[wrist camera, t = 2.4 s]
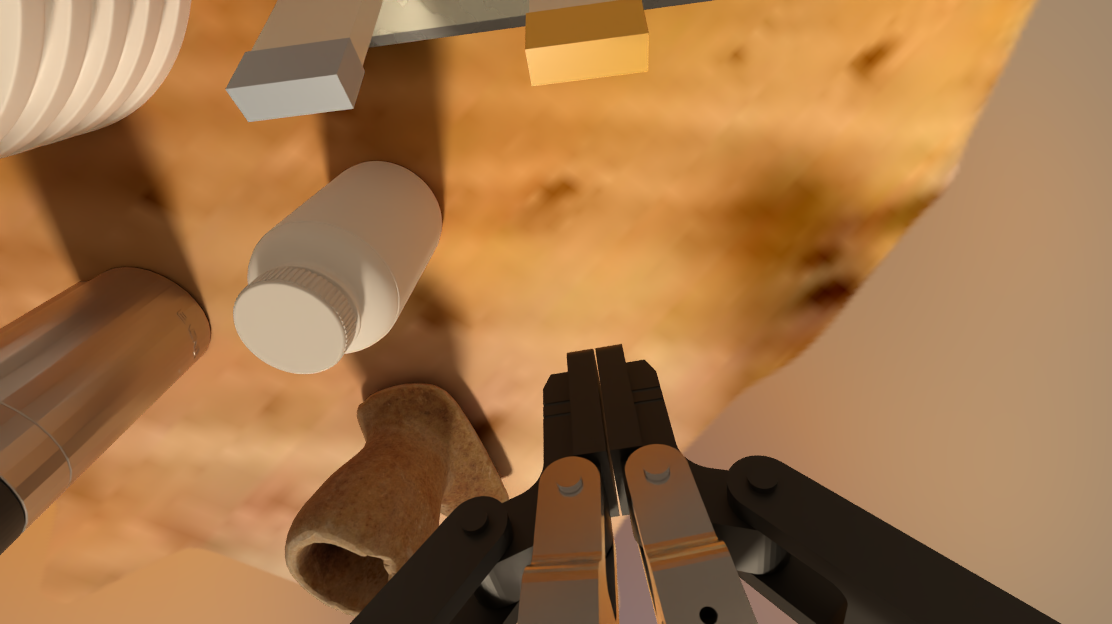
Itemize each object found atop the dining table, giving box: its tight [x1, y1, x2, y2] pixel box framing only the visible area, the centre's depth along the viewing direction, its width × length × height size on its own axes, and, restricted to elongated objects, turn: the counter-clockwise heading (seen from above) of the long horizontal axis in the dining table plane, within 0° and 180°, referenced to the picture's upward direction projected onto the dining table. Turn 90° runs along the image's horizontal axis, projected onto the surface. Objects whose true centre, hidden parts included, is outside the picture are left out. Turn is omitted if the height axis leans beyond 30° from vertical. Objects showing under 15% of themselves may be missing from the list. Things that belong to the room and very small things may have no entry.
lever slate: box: [226, 0, 383, 122], centre depth 23 cm, size 1×4×12 cm, turn 98°
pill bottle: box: [233, 161, 442, 374], centre depth 31 cm, size 8×8×15 cm
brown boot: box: [285, 383, 509, 617], centre depth 43 cm, size 15×12×15 cm
